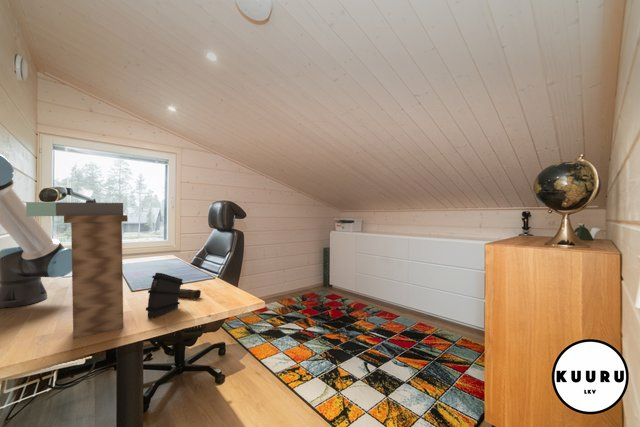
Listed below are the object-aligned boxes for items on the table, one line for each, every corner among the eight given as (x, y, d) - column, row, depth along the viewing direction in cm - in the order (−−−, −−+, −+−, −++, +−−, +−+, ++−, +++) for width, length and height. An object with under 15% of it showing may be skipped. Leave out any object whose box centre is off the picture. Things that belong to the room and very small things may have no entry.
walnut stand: (66, 340, 80) (63, 216, 79) (70, 328, 88) (68, 215, 87) (129, 326, 89) (127, 215, 88) (127, 317, 97) (126, 214, 96)
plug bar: (26, 216, 77) (26, 202, 77) (29, 216, 80) (29, 202, 80) (123, 215, 90) (123, 202, 90) (122, 215, 93) (122, 203, 93)
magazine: (137, 316, 93) (153, 272, 99) (167, 319, 105) (180, 280, 111) (146, 317, 92) (162, 273, 98) (175, 320, 103) (187, 280, 109)
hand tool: (201, 298, 118) (201, 287, 118) (194, 300, 114) (194, 289, 114) (167, 294, 124) (167, 283, 124) (160, 296, 121) (160, 286, 121)
